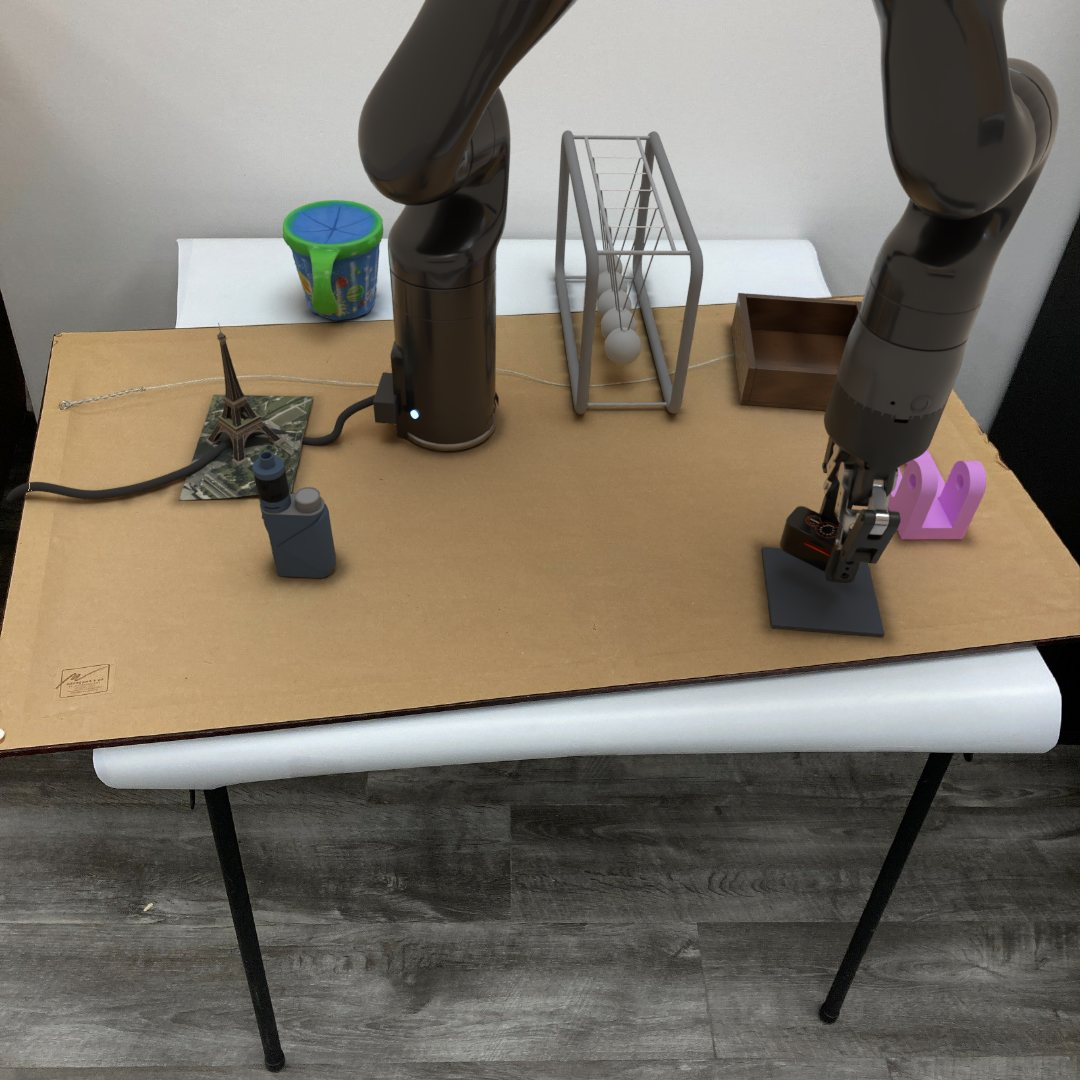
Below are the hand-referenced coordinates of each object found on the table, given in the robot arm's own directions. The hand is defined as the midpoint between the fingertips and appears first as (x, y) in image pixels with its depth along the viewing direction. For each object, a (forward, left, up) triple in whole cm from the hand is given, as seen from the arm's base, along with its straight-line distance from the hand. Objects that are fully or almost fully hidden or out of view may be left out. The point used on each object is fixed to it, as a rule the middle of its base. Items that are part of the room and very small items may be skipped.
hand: (833, 554), depth 79 cm
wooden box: (+2, +33, -4) cm, 33 cm away
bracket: (+10, +14, -5) cm, 18 cm away
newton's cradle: (-18, +36, -5) cm, 41 cm away
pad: (0, 0, -4) cm, 4 cm away
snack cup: (-49, +39, -5) cm, 63 cm away
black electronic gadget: (0, +1, -1) cm, 1 cm away
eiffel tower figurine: (-52, +13, -5) cm, 54 cm away
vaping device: (-43, -2, -5) cm, 43 cm away
